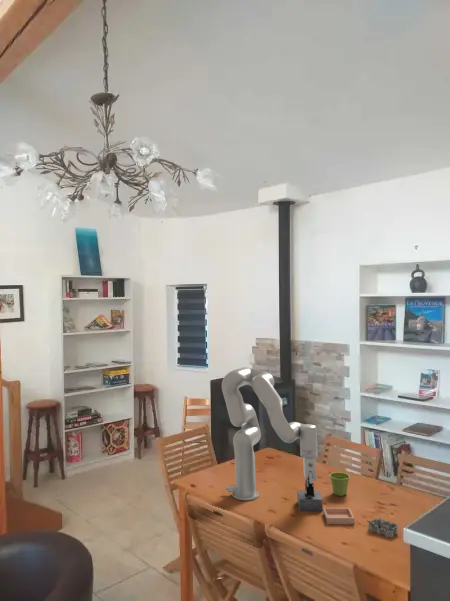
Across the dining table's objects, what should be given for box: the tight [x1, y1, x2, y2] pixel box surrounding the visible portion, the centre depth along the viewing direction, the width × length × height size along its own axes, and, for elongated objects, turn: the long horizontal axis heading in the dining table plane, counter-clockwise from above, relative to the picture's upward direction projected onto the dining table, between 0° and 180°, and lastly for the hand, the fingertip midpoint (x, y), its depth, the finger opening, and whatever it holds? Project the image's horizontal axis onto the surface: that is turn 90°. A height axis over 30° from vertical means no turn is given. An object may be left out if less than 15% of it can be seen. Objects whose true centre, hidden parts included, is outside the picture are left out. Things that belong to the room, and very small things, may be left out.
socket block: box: [296, 490, 324, 512], centre depth 223 cm, size 10×10×5 cm
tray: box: [322, 507, 356, 525], centre depth 209 cm, size 11×10×2 cm
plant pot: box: [329, 471, 351, 497], centre depth 237 cm, size 9×9×9 cm
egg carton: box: [367, 517, 399, 538], centre depth 197 cm, size 11×8×4 cm
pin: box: [304, 481, 315, 497], centre depth 223 cm, size 4×4×10 cm
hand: (309, 493), depth 223 cm, fingers closed on pin, 4 cm apart
